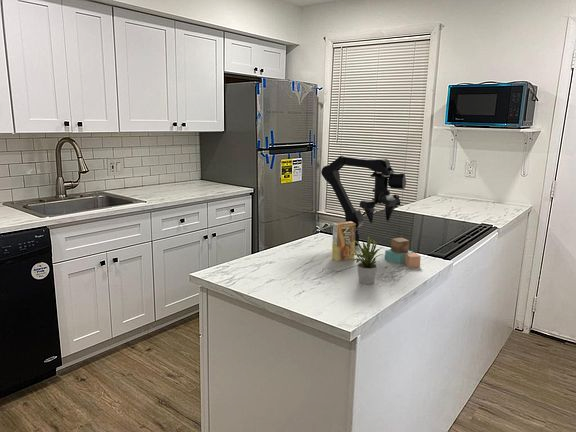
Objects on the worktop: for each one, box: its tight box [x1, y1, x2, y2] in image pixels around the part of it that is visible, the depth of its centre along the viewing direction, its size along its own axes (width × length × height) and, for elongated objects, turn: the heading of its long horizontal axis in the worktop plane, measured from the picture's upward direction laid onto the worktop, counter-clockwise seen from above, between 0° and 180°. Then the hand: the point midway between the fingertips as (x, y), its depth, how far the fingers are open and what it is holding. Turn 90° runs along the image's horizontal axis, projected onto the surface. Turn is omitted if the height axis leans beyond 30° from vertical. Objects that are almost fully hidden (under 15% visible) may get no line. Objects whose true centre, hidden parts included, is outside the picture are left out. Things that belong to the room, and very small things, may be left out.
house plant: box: [351, 236, 384, 285], centre depth 158 cm, size 14×14×16 cm
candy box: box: [331, 221, 356, 262], centre depth 183 cm, size 9×4×15 cm, turn 116°
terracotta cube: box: [404, 252, 421, 268], centre depth 176 cm, size 4×4×4 cm
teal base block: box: [384, 248, 414, 265], centre depth 183 cm, size 8×8×4 cm
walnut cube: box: [390, 237, 410, 254], centre depth 182 cm, size 5×5×5 cm
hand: (379, 221), depth 198 cm, fingers open, 9 cm apart
